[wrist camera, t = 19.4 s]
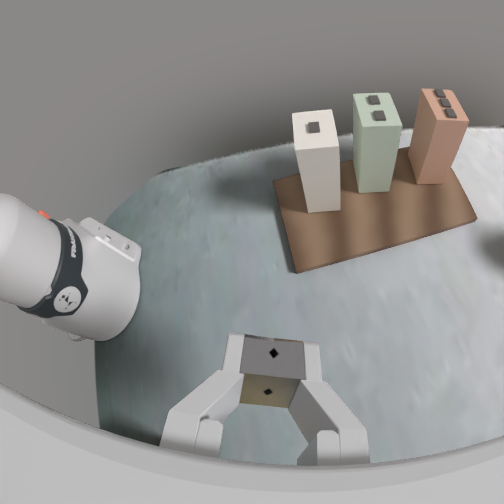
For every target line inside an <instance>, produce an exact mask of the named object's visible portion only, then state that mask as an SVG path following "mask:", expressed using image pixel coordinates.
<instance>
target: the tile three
mask: <svg viewBox="0 0 504 504" xmlns="http://www.w3.org/2000/svg"><path fill="white" fill-rule="evenodd" d="M468 123H469V120H468V118H467V116H466V115H465V113H464V111H463V109H462V107H461V105H460V104H459V102H458V100H457V99H456V97H455V95H454V93H453V91H452V90H442V89H421V94H420V100H419V105H418V111H417V116H416V121H415V126H414V130H413V135H412V139H411V144H410V148H409V152H408V156H409V159H410V163H411V166H412V169H413V173H414V176H415V179H416V183H417V184H443V183H444V181H445V179H446V177H447V174H448V172H449V170H450V168H451V165H452V163H453V161H454V158H455V156H456V154H457V151H458V149H459V146H460V144H461V141H462V139H463V136H464V134H465V131H466V129H467V126H468Z"/></svg>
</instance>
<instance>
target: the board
mask: <svg viewBox="0 0 504 504" xmlns="http://www.w3.org/2000/svg"><path fill="white" fill-rule="evenodd" d="M409 148H410V147H406V148H401V149H398V152H397V157H396V162H395V167H394V171H393V176H392V180H391V185H390V189H389V191H387V192H370V193H359V192H358V186H357V180H356V175H355V169H354V164H353V160H349V161H345V162H341V163H340V210H337V211H324V212H312V213H308V209H307V204H306V199H305V194H304V189H303V185H302V180H301V175H300V173H299V174H296V175H292V176H288V177H285V178H281V179H278V180H274V181H273V184H274V188H275V192H276V195H277V199H278V203H279V207H280V210H281V214H282V218H283V222H284V225H285V229H286V233H287V237H288V241H289V245H290V249H291V253H292V257H293V261H294V265H295V269H296V272H297V274H298V273H302V272H306V271H309V270H313V269H317V268H320V267H324V266H328V265H331V264H335V263H338V262H342V261H346V260H349V259H353V258H356V257H360V256H363V255H367V254H370V253H374V252H377V251H381V250H384V249H387V248H391V247H394V246H398V245H401V244H404V243H408V242H411V241H414V240H418V239H421V238H424V237H427V236H431V235H434V234H437V233H440V232H444V231H447V230H450V229H453V228H456V227H459V226H462V225H466V224H469V223H472V222H475V221H476V219H477V216H476V214H475V212H474V210H473V208H472V206H471V204H470V202H469V200H468V198H467V196H466V194H465V192H464V190H463V188H462V186H461V184H460V182H459V180H458V179H457V177H456V175H455V173H454V171H453V170H452V168H450V170H449V172H448V174H447V177H446V179H445V181H444V183H443V184H417V183H416V179H415V176H414V173H413V169H412V166H411V163H410V159H409V156H408V152H409Z"/></svg>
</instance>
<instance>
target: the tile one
mask: <svg viewBox="0 0 504 504" xmlns="http://www.w3.org/2000/svg"><path fill="white" fill-rule="evenodd" d="M292 120H293V131H294V144H295V153H296V157H297V162H298V166H299V171H300V175H301V180H302V185H303V189H304V194H305V199H306V204H307V209H308V213H312V212H324V211H337V210H340V155H339V143H338V138H337V133H336V128H335V123H334V118H333V113H332V110H331V109H330V110H319V111H309V112H300V113H292Z"/></svg>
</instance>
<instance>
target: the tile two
mask: <svg viewBox="0 0 504 504" xmlns="http://www.w3.org/2000/svg"><path fill="white" fill-rule="evenodd" d="M353 114H354V115H353V119H354V120H353V122H354V123H353V125H354V127H353V128H354V129H353V131H354V132H353V164H354V169H355V175H356V180H357V186H358V192H359V193H370V192H387V191H389V189H390V185H391V180H392V176H393V171H394V167H395V162H396V157H397V152H398V147H399V142H400V136H401V131H402V123H401V121H400V118H399V116H398V113H397V111H396V108H395V106H394V103H393V101H392V99H391V96H390V94H389V93H365V94H353Z"/></svg>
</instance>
